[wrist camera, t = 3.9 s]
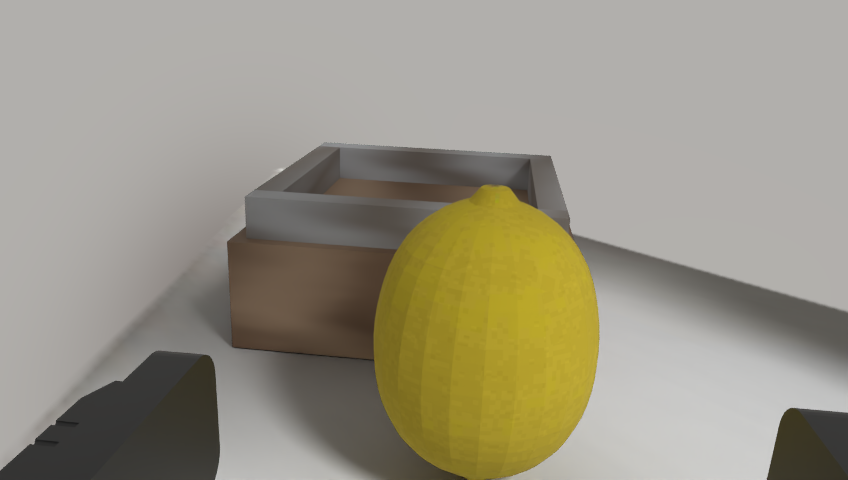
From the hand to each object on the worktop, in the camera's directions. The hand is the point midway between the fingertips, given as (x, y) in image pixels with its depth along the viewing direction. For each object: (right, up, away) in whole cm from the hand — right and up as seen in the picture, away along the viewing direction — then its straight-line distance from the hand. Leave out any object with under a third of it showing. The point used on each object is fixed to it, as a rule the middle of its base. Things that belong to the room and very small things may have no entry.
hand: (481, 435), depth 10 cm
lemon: (0, -4, +9) cm, 10 cm away
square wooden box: (-1, 0, +20) cm, 20 cm away
